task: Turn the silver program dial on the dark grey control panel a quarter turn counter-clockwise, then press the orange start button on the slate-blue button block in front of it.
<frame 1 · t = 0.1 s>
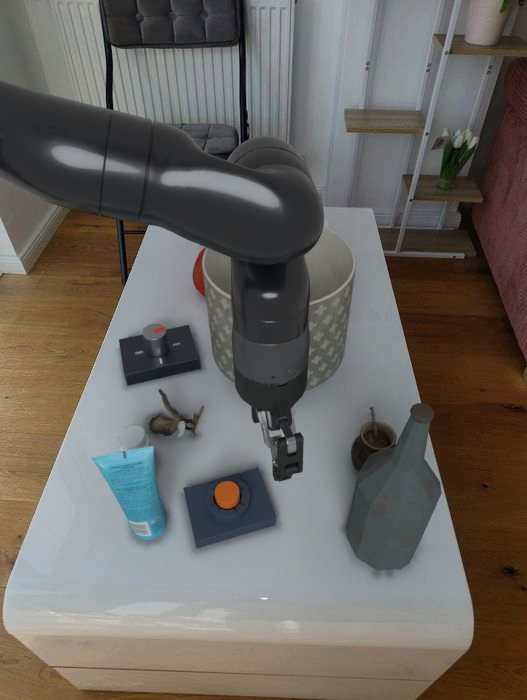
hand: (271, 447, 62), 21 cm above the table, tool pointing down, fingers open, 8 cm apart
button block: (229, 509, 79), on the table
dial panel: (160, 359, 102), on the table
program dial: (155, 339, 98), point 5 cm above the table, hinge at 0.0°
pill bottle: (141, 466, 85), on the table
eagle figurine: (176, 427, 90), on the table
apple: (218, 289, 117), on the table
tube: (149, 525, 77), on the table
vase: (289, 259, 125), on the table
figurine: (216, 242, 131), on the table
planter: (278, 359, 101), on the table
start button: (227, 494, 76), point 5 cm above the table, slide at 0.2 cm
mate gourd: (370, 464, 84), on the table
bottle: (380, 539, 75), on the table
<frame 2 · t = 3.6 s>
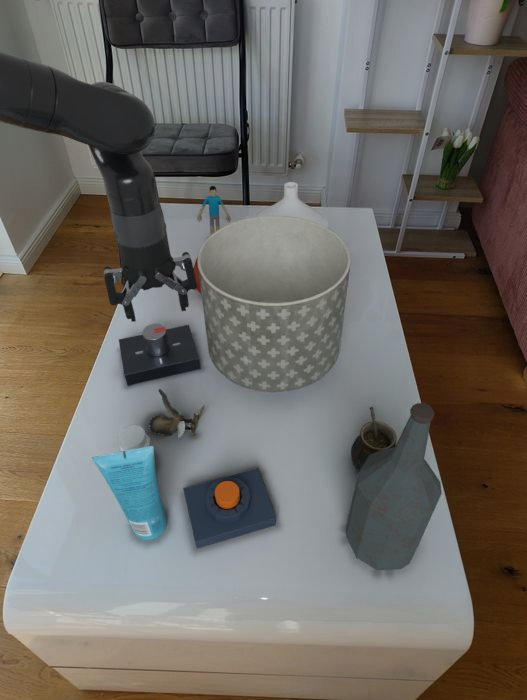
hand: (158, 313, 88), 15 cm above the table, tool pointing down, fingers open, 8 cm apart
planter: (273, 357, 102), on the table
everything else where it was.
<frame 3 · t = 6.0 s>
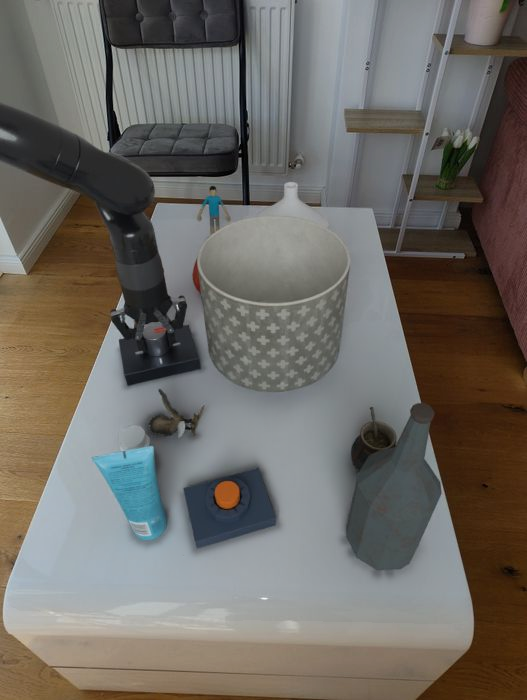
hand: (157, 346, 99), 4 cm above the table, tool pointing down, fingers closed on program dial, 4 cm apart
program dial: (155, 339, 98), point 5 cm above the table, hinge at -0.1°, touching gripper
everything else where it was.
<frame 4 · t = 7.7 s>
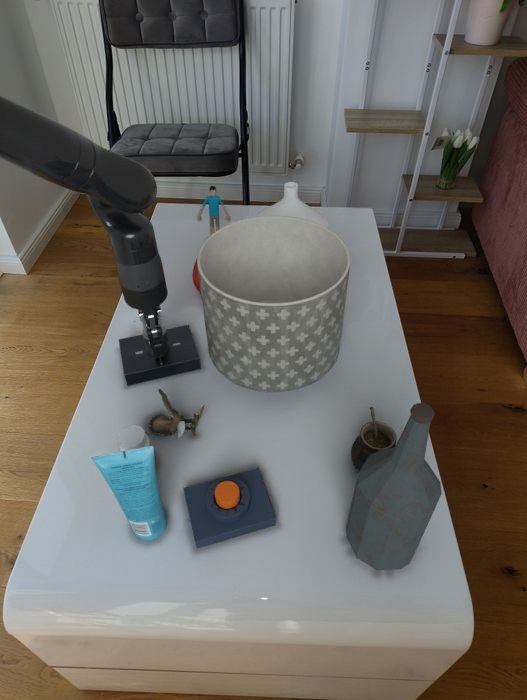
hand: (158, 346, 99), 3 cm above the table, tool pointing down, fingers closed on program dial, 4 cm apart
program dial: (155, 339, 98), point 5 cm above the table, hinge at 92.5°, touching gripper
everything else where it was.
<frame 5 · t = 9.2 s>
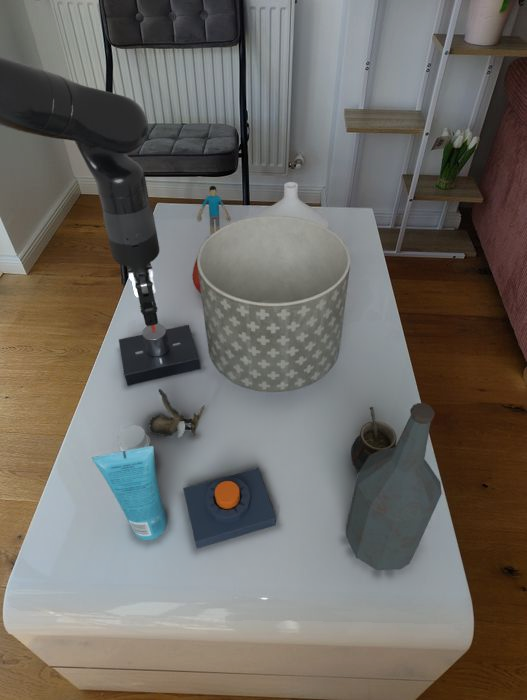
hand: (148, 308, 92), 13 cm above the table, tool pointing down, fingers open, 8 cm apart
program dial: (155, 339, 98), point 5 cm above the table, hinge at 92.6°
everything else where it was.
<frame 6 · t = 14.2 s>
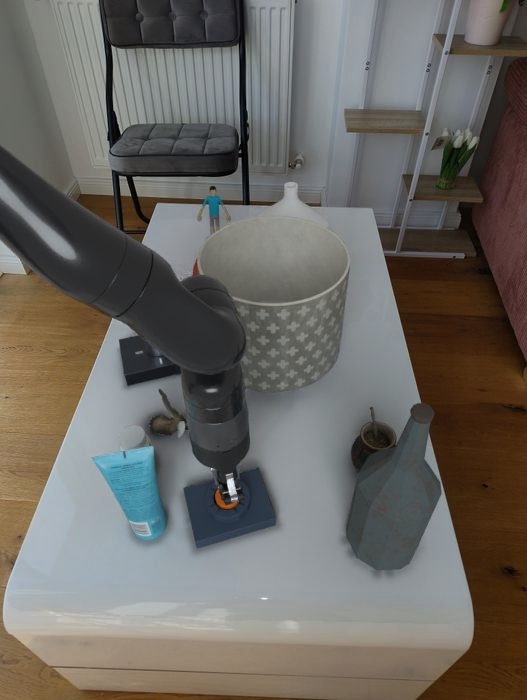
hand: (227, 495, 76), 4 cm above the table, tool pointing down, fingers closed
start button: (227, 498, 76), point 4 cm above the table, slide at -0.8 cm, touching gripper
everything else where it was.
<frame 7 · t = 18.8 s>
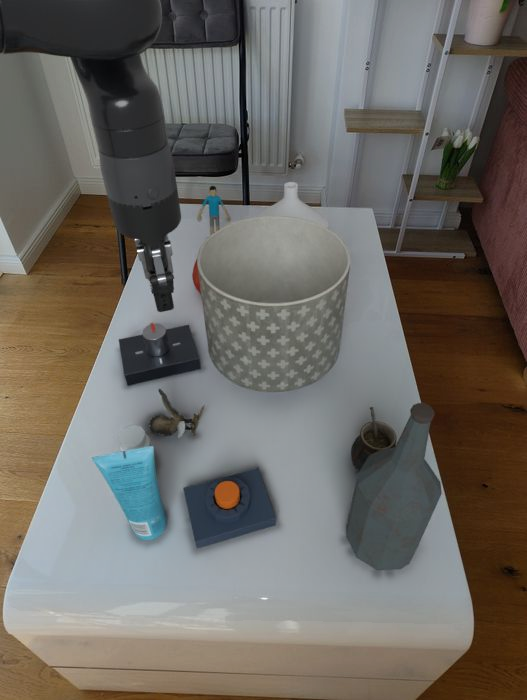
hand: (165, 307, 68), 29 cm above the table, tool pointing down, fingers closed
start button: (227, 494, 76), point 5 cm above the table, slide at 0.2 cm
everything else where it was.
at the end: program dial at +93° (first picture: +0°); start button pushed in 1.1 cm at the most during the clip, back to 0.2 cm at the end; start button slide at 0.2 cm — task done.
